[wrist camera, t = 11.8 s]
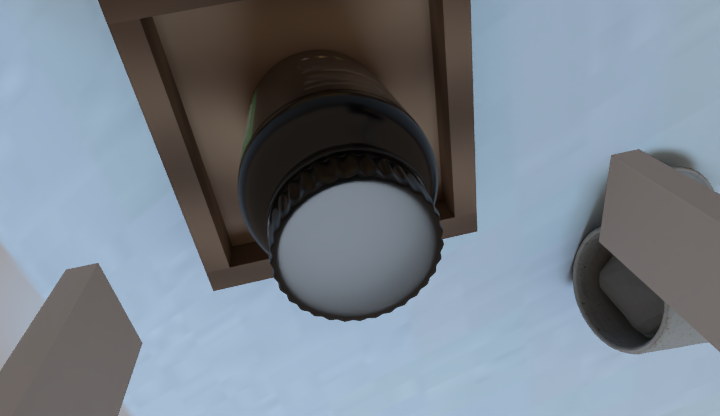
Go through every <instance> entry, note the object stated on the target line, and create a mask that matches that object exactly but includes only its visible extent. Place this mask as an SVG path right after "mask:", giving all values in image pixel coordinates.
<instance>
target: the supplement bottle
mask: <svg viewBox="0 0 720 416" xmlns="http://www.w3.org/2000/svg"><path fill="white" fill-rule="evenodd" d="M437 192H438V169H437V163H436V159H435V155H434V152H433V149H432V147H431V145H430V143H429V141H428V139H427V137H426V136H425V134H424V132H423V131H422V129H421V128H420V127H419V125H418V124H417V122H416V121H415V120H414V119H413V118H412V117H411V116H410V114H409V113H408V112H407V111H406V110H405V109H404V108H403V107H402V105H401V104H400V103H399V102H398V101H397V100H396V99H395V98H394V96H393V95H392V94H391V93H390V92H389V91H388V90H387V88H386V87H385V86H384V85H383V84H382V83H381V82H380V81H379V79H378V78H377V77H376V76H375V75H374V74H373V73H372V72H371V71H370V70H369V69H368V68H367V67H365V66H364V65H363V64H361V63H360V62H359V61H357V60H355V59H354V58H352V57H350V56H347V55H345V54H342V53H339V52H335V51H331V50H308V51H303V52H299V53H296V54H293V55H291V56H288V57H286V58H285V59H283V60H281V61H279V62H278V63H277V64H275V65H274V66H273V67H272V68H271V69H269V70H268V71H267V73H266V74H265V75H264V76H263V77H262V79H261V80H260V81H259V83H258V85H257V86H256V88H255V90H254V93H253V95H252V98H251V101H250V105H249V109H248V113H247V120H246V126H245V133H244V139H243V145H242V152H241V158H240V165H239V172H238V202H239V207H240V211H241V214H242V217H243V220H244V223H245V225H246V227H247V229H248V231H249V232H250V234H251V236H252V237H253V239H254V240H255V241H256V243H257V244H258V245H259V246H260V247H261V248H262V249H263V250H264V251H265V252H266V253H267V254H268V257H269V262H270V264H271V266H272V275H273V277H274V278H275V280H276V281H277V282H278V284H279V288H280V290H281V291H282V292H283V293H285V294H287V297H288V299H289V301H291V302H293V303H295V304H297V305H298V306H299V308H300V309H301V310H304V311H309V312H310V313H311V314H313V315H314V316H322V317H325V318H326V319H328V320H335V319H338V320H341V321H344V322H346V321H350V320H357V321H361V320H364V319H366V318H376V317H378V316H380V315H382V314H384V313H390V312H392V311H393V310H394V309H395V308H397V307H400V306H403V305H405V304H406V303H407V301H408V300H409V299H411V298H413V297H415V296H417V294H418V293H419V291H420V289H422V288H423V287H425V286H426V285H427V284H428V282H429V278H430V277H431V276H432V275H433V274H434V273H435V272H436V265H437V264H438V262H439V261H440V260H441V254H440V252H441V250H442V248H443V245H444V243H443V240H442V235H443V227H442V225H441V223H440V215H439V212H438V210H437V209H436V207H435V203H436V198H437Z"/></svg>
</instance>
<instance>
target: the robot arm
mask: <svg viewBox="0 0 720 416" xmlns="http://www.w3.org/2000/svg"><path fill="white" fill-rule="evenodd" d="M599 242H600V243H601V244H602V245H603V246H604V247H605V248H606V249H607V250H609V251H610V252H611V253H612V254H613V255H614V256H615V257H616V258H617V259H618V260H620V261H621V262H622V263H623V264H624V265H625V266H626V267H627V268H628V269H629V270H630V271H632V272H633V273H634V274H635V275H636V276H637V277H638V278H639V279H640V280H641V281H643V282H644V283H645V284H646V285H647V286H648V287H649V288H650V289H651V290H652V291H654V292H655V293H656V294H657V295H658V296H659V297H660V298H661V299H662V300H663V301H664V302H666V303H667V304H668V305H669V306H670V307H671V308H672V309H673V310H674V311H675V312H677V313H678V314H679V315H680V316H681V317H682V318H683V319H684V320H685V321H686V322H688V323H689V324H690V325H691V326H692V327H693V328H694V329H695V330H696V331H697V332H698V333H700V334H701V335H702V336H703V337H704V338H705V339H706V340H707V341H708V342H709V343H711V344H712V345H713V346H714V347H715V348H716V349H717V350H718V351H719V352H720V194H718V193H717V192H715V191H713V190H711V189H709V188H708V187H706V186H704V185H702V184H700V183H699V182H697V181H695V180H693V179H691V178H690V177H688V176H686V175H684V174H682V173H681V172H679V171H677V170H675V169H673V168H672V167H670V166H668V165H666V164H664V163H663V162H661V161H659V160H657V159H656V158H654V157H652V156H650V155H648V154H647V153H645V152H643V151H641V150H639V149H638V150H633V151H628V152H624V153H619V154H614V155H611V160H610V167H609V174H608V181H607V188H606V195H605V202H604V209H603V216H602V223H601V230H600V237H599ZM141 346H142V342H141V340H140V338H139V336H138V334H137V333H136V331H135V329H134V327H133V325H132V323H131V322H130V320H129V318H128V316H127V314H126V313H125V311H124V309H123V307H122V305H121V303H120V302H119V300H118V298H117V296H116V294H115V293H114V291H113V289H112V287H111V285H110V283H109V282H108V280H107V278H106V276H105V274H104V273H103V271H102V269H101V267H100V265H99V263H96V264H91V265H86V266H82V267H77V268H72V269H67V270H66V271H65V272H64V274H63V275H62V277H61V278H60V280H59V281H58V283H57V284H56V286H55V287H54V289H53V291H52V292H51V294H50V295H49V297H48V298H47V300H46V301H45V303H44V304H43V306H42V307H41V309H40V311H39V312H38V314H37V315H36V317H35V318H34V320H33V321H32V323H31V324H30V326H29V328H28V329H27V331H26V332H25V334H24V335H23V337H22V338H21V340H20V341H19V343H18V344H17V346H16V348H15V349H14V351H13V352H12V354H11V356H10V357H9V358H8V360H7V361H6V363H5V364H4V366H3V368H2V369H1V371H0V416H118V414H119V411H120V408H121V405H122V402H123V399H124V396H125V393H126V390H127V387H128V384H129V381H130V378H131V375H132V372H133V369H134V366H135V363H136V360H137V357H138V354H139V351H140V348H141Z"/></svg>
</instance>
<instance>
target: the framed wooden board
mask: <svg viewBox="0 0 720 416" xmlns="http://www.w3.org/2000/svg"><path fill="white" fill-rule="evenodd" d="M98 2H99V4H100V7H101V9H102V12H103V14H104V17H105V19H106V22H107V24H108V27H109V29H110V32H111V34H112V37H113V39H114V42H115V44H116V47H117V49H118V52H119V54H120V57H121V59H122V62H123V64H124V67H125V70H126V72H127V75H128V77H129V80H130V82H131V85H132V87H133V90H134V92H135V95H136V97H137V100H138V102H139V105H140V107H141V110H142V112H143V115H144V117H145V120H146V122H147V125H148V127H149V130H150V132H151V135H152V137H153V140H154V142H155V145H156V148H157V150H158V153H159V155H160V158H161V160H162V163H163V165H164V168H165V170H166V173H167V175H168V178H169V180H170V183H171V185H172V188H173V190H174V193H175V195H176V198H177V200H178V203H179V205H180V208H181V210H182V213H183V215H184V218H185V220H186V223H187V226H188V228H189V231H190V233H191V236H192V238H193V241H194V243H195V246H196V248H197V251H198V253H199V256H200V258H201V261H202V263H203V266H204V268H205V271H206V273H207V276H208V278H209V281H210V283H211V286H212V288H213V291H216V290H220V289H225V288H229V287H233V286H238V285H242V284H247V283H251V282H255V281H260V280H264V279H269V278H273V275H272V266H271V264H270V262H269V257H268V254H267V253H266V252H265V251H264V250H263V249H262V248H261V247H260V246H259V245H258V244H257V243H256V241H255V240H254V239H253V237H252V236H251V234H250V232H249V231H248V229H247V227H246V225H245V223H244V220H243V217H242V214H241V211H240V207H239V202H238V172H239V165H240V158H241V152H242V145H243V139H244V133H245V126H246V120H247V113H248V109H249V105H250V101H251V98H252V95H253V93H254V90H255V88H256V86H257V85H258V83H259V81H260V80H261V79H262V77H263V76H264V75H265V74H266V73H267V71H268V70H269V69H271V68H272V67H273V66H274V65H275V64H277V63H278V62H279V61H281V60H283V59H285V58H286V57H288V56H291V55H293V54H296V53H299V52H303V51H308V50H331V51H335V52H339V53H342V54H345V55H347V56H350V57H352V58H354V59H355V60H357V61H359V62H360V63H361V64H363V65H364V66H365V67H367V68H368V69H369V70H370V71H371V72H372V73H373V74H374V75H375V76H376V77H377V78H378V79H379V81H380V82H381V83H382V84H383V85H384V86H385V87H386V88H387V90H388V91H389V92H390V93H391V94H392V95H393V96H394V98H395V99H396V100H397V101H398V102H399V103H400V104H401V105H402V107H403V108H404V109H405V110H406V111H407V112H408V113H409V114H410V116H411V117H412V118H413V119H414V120H415V121H416V122H417V124H418V125H419V127H420V128H421V129H422V131H423V132H424V134H425V136H426V137H427V139H428V141H429V143H430V145H431V147H432V149H433V152H434V155H435V159H436V163H437V169H438V192H437V198H436V203H435V207H436V209H437V210H438V212H439V215H440V223H441V225H442V227H443V235H442V239H445V238H449V237H454V236H458V235H463V234H467V233H471V232H476V231H477V212H476V177H475V142H474V107H473V73H472V38H471V3H470V0H98Z"/></svg>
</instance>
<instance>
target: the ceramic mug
mask: <svg viewBox="0 0 720 416" xmlns="http://www.w3.org/2000/svg"><path fill="white" fill-rule="evenodd" d="M670 167H672V168H673V169H675V170H677V171H679V172H681V173H682V174H684V175H686V176H688V177H690V178H691V179H693V180H695V181H697V182H699V183H700V184H702V185H704V186H706V187H708V188H709V189H711V190H713V188H712V186H711V185H710V183H709V182H708V180H707V179H706V178H705V177H704V176H703V175H702V174H700V173H699V172H697V171H695V170H693V169H690V168H686V167H679V166H670ZM713 191H714V190H713ZM600 230H601V226H600V227H598V228H596V229H594V230H593V231H592V232H590V233H589V234H588V235H587V236H586V238H585V239H584V240H583V241H582V243H581V245H580V247H579V249H578V251H577V254H576V257H575V260H574V265H573V286H574V294H575V298H576V301H577V304H578V307H579V309H580V311H581V313H582V316H583V318H584V319H585V321H586V322H587V324H588V325H589V327H590V328H591V330H592V331H593V332H594V334H595V335H597V336H598V337H599V338H600V339H601V340H602V341H603V342H604V343H606V344H607V345H608V346H610V347H612V348H614V349H616V350H619V351H621V352H624V353H630V354H642V353H647V352H653V351H659V350H665V349H672V348H678V347H683V346H688V345H694V344H700V343H708V341H707V340H706V339H705V338H704V337H703V336H702V335H701V334H700V333H698V332H697V331H696V330H695V329H694V328H693V327H692V326H691V325H690V324H689V323H688V322H686V321H685V320H684V319H683V318H682V317H681V316H680V315H679V314H678V313H677V312H675V311H674V310H673V309H672V308H671V307H670V306H669V305H668V304H667V303H666V302H664V301H663V300H662V299H661V298H660V297H659V296H658V295H657V294H656V293H655V292H654V291H652V290H651V289H650V288H649V287H648V286H647V285H646V284H645V283H644V282H643V281H641V280H640V279H639V278H638V277H637V276H636V275H635V274H634V273H633V272H632V271H630V270H629V269H628V268H627V267H626V266H625V265H624V264H623V263H622V262H621V261H620V260H618V259H617V258H616V257H615V256H614V255H613V254H612V253H611V252H610V251H609V250H607V249H606V248H605V247H604V246H603V245H602V244H601V243H600V242H599V237H600Z"/></svg>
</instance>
